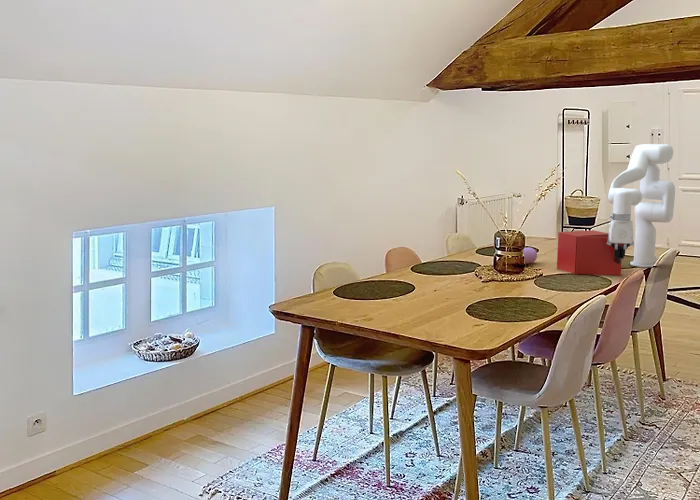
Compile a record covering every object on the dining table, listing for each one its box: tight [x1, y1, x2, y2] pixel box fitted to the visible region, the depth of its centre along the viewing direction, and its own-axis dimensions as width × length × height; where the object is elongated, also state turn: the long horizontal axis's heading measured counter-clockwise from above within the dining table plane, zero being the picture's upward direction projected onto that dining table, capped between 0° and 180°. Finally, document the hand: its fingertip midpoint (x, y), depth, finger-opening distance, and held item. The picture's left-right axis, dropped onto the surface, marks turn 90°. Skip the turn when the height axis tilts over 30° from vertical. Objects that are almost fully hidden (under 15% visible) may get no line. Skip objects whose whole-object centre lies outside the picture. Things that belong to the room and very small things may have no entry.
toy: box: [523, 247, 538, 265], centre depth 356 cm, size 8×9×20 cm
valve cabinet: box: [556, 230, 609, 275], centre depth 341 cm, size 14×20×18 cm
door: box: [575, 236, 623, 276], centre depth 326 cm, size 7×20×18 cm, turn 81°
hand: (619, 257), depth 321 cm, fingers closed on door
